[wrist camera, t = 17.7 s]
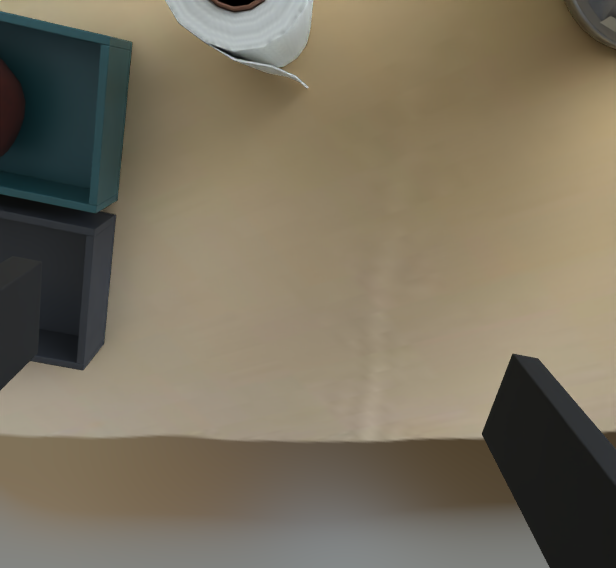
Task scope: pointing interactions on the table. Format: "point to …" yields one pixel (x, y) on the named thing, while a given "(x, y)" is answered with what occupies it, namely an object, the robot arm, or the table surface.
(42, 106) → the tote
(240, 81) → the table surface
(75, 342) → the box
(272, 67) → the paper towel roll
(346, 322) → the table surface
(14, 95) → the potato
